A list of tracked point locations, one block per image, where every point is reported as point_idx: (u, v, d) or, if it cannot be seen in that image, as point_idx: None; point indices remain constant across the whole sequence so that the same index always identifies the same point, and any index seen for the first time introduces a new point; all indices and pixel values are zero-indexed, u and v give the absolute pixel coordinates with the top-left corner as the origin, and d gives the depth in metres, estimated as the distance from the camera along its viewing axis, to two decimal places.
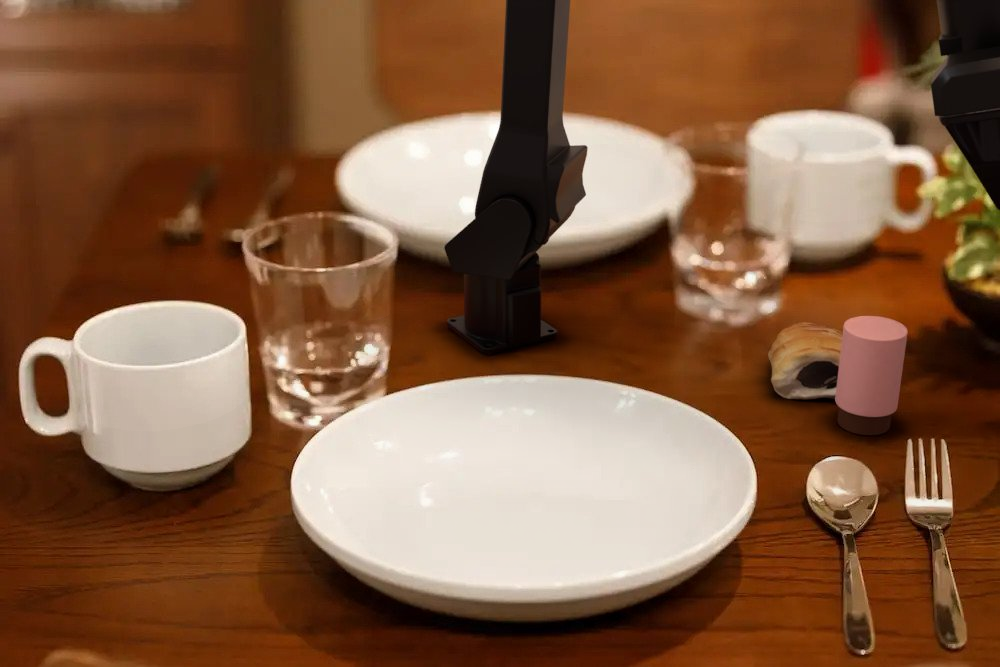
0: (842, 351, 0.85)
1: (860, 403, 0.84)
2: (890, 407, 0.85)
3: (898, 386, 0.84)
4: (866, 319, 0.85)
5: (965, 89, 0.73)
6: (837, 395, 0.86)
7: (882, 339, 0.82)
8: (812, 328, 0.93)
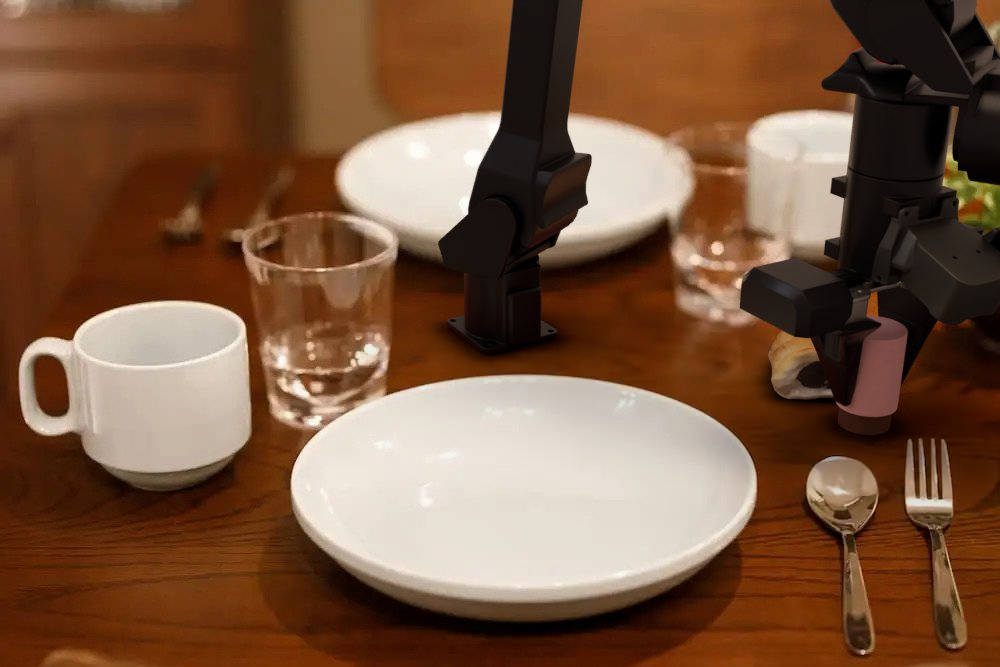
0: None
1: (860, 403, 0.84)
2: (890, 407, 0.85)
3: (898, 386, 0.84)
4: None
5: (754, 294, 0.79)
6: None
7: (883, 338, 0.82)
8: None
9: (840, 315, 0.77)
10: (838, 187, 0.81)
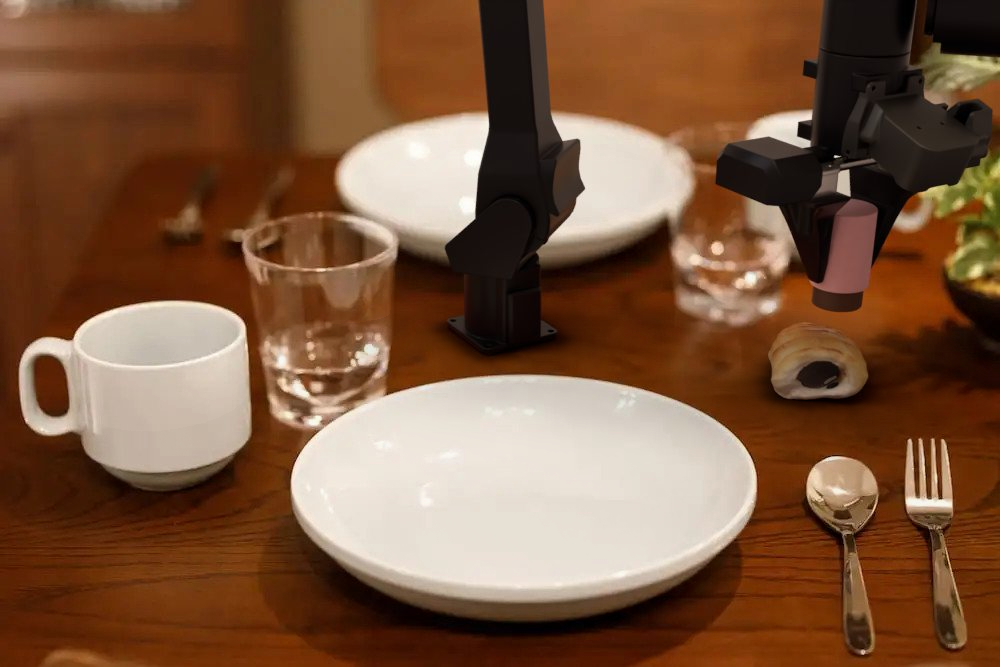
0: None
1: (832, 280, 0.88)
2: (861, 284, 0.88)
3: (869, 264, 0.88)
4: None
5: (729, 168, 0.83)
6: None
7: (853, 215, 0.86)
8: (812, 328, 0.93)
9: (811, 185, 0.81)
10: (810, 69, 0.85)
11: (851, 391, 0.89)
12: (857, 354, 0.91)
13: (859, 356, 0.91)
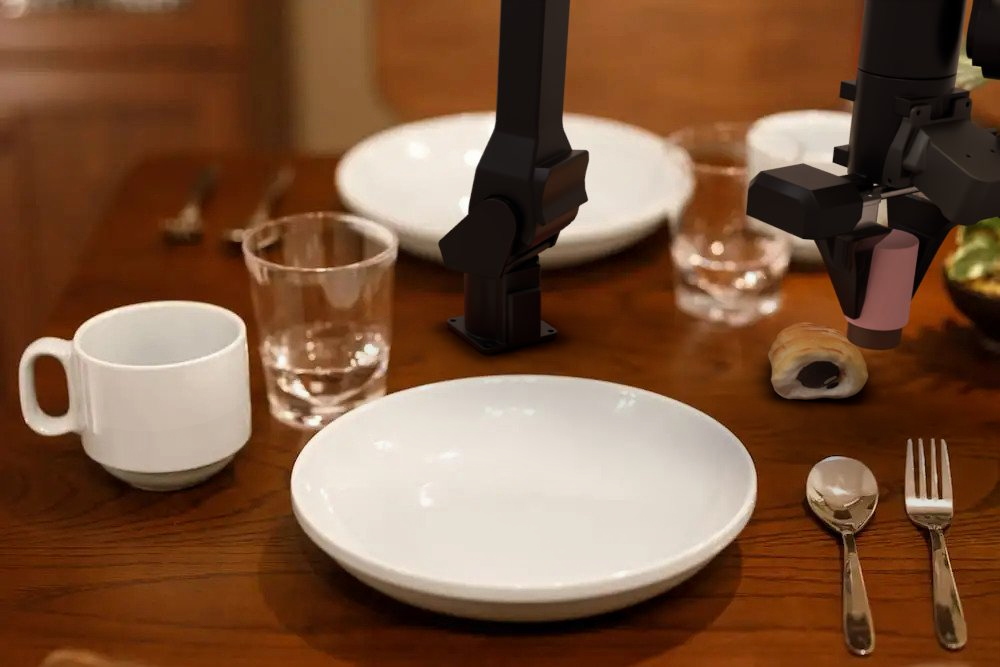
0: None
1: (870, 316, 0.82)
2: (901, 320, 0.82)
3: (909, 298, 0.82)
4: None
5: (761, 198, 0.77)
6: None
7: (893, 247, 0.80)
8: (812, 328, 0.93)
9: (850, 217, 0.75)
10: (847, 90, 0.79)
11: (851, 391, 0.89)
12: (857, 354, 0.91)
13: (859, 356, 0.91)
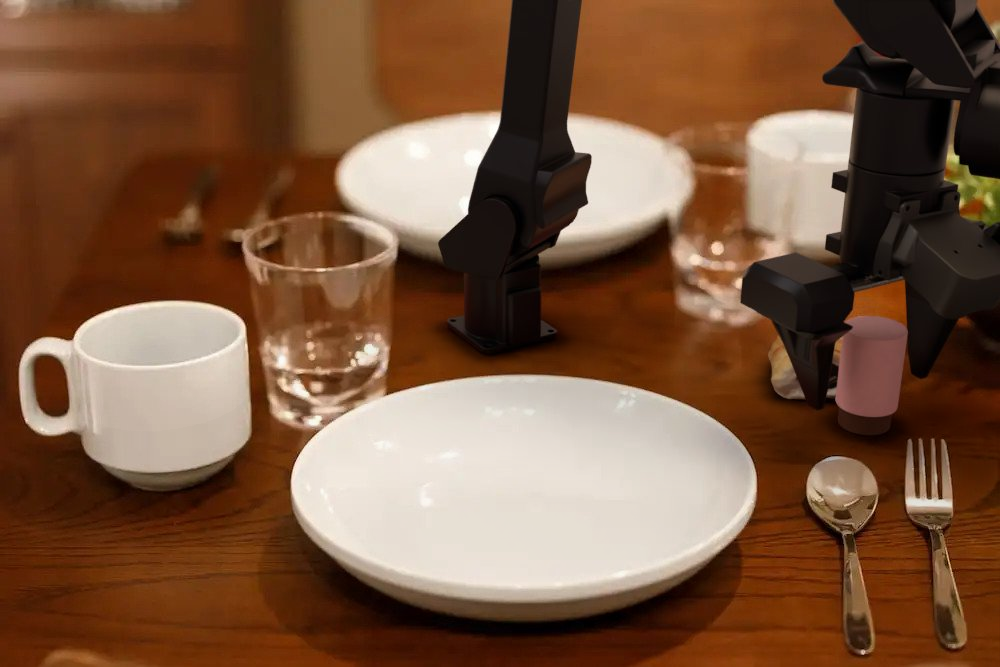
0: (842, 351, 0.85)
1: (860, 403, 0.84)
2: (890, 407, 0.85)
3: (898, 386, 0.84)
4: (866, 319, 0.85)
5: (755, 289, 0.79)
6: (837, 395, 0.86)
7: (883, 339, 0.82)
8: None
9: (841, 310, 0.77)
10: (839, 182, 0.81)
11: None
12: None
13: None
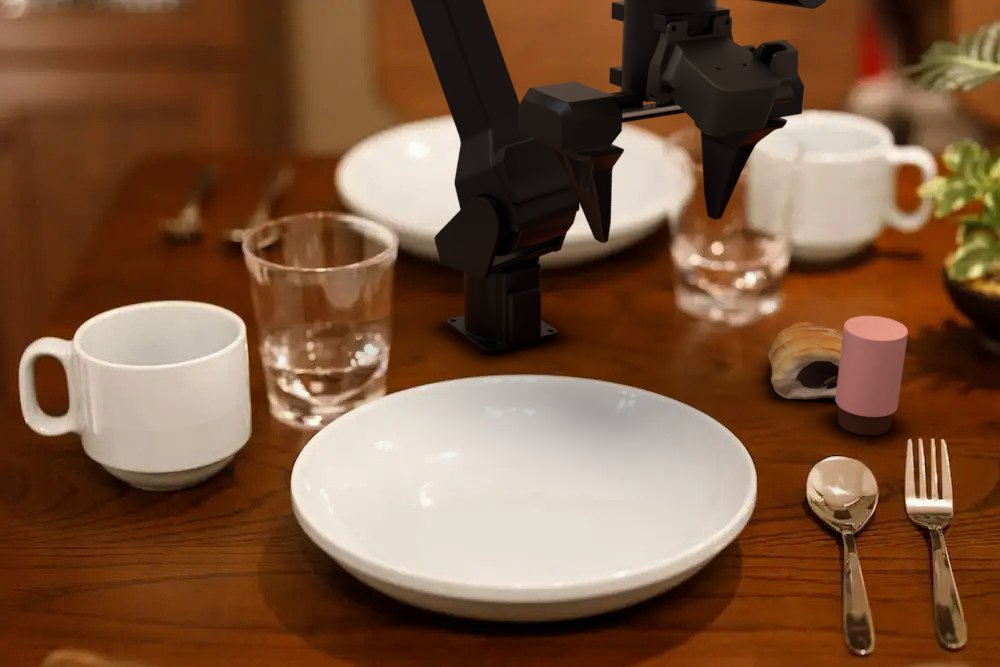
0: (842, 351, 0.85)
1: (860, 403, 0.84)
2: (890, 407, 0.85)
3: (898, 386, 0.84)
4: (866, 319, 0.85)
5: (529, 113, 0.80)
6: (837, 395, 0.86)
7: (883, 339, 0.82)
8: (812, 328, 0.93)
9: (609, 130, 0.78)
10: (617, 11, 0.81)
11: None
12: None
13: None
